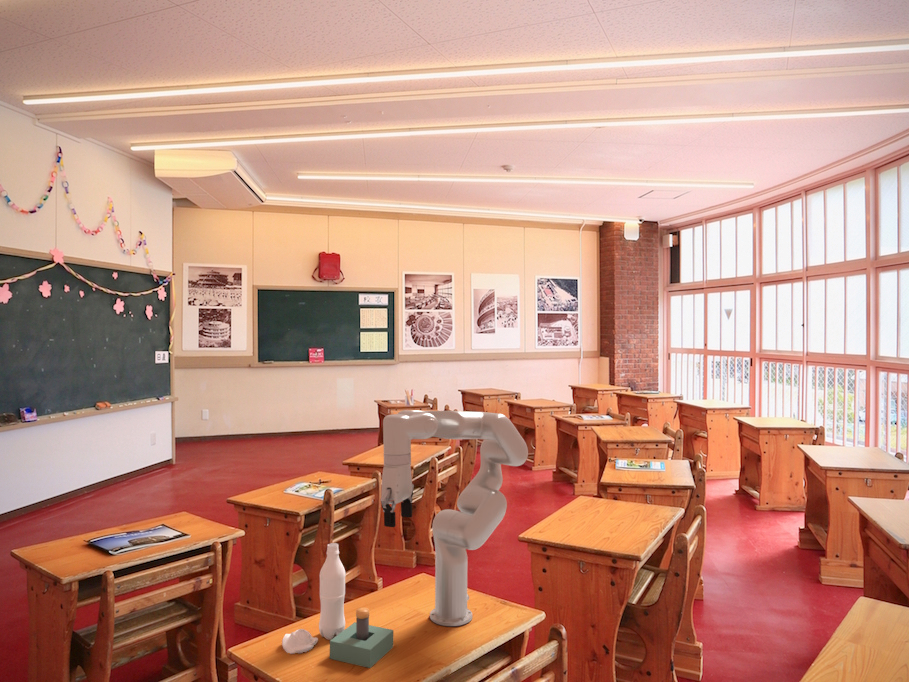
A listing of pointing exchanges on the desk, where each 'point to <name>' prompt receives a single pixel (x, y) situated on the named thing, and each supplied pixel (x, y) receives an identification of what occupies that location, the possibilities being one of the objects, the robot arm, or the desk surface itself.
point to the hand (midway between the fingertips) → (398, 521)
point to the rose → (298, 641)
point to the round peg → (362, 624)
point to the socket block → (361, 646)
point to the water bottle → (332, 594)
